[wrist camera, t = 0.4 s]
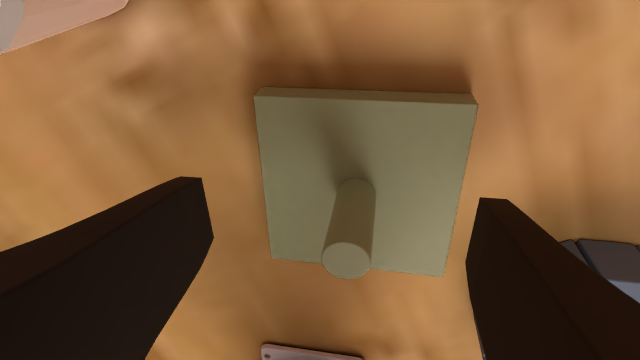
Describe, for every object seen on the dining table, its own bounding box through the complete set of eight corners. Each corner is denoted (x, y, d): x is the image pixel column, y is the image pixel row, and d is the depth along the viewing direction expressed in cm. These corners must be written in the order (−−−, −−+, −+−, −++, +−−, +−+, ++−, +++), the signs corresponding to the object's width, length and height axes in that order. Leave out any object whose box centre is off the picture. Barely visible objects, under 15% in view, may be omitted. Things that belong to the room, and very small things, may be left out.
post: (441, 259, 22) (455, 358, 17) (277, 242, 24) (241, 327, 18) (472, 93, 17) (508, 156, 12) (262, 86, 19) (206, 139, 13)
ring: (636, 379, 24) (664, 428, 22) (462, 355, 26) (469, 397, 23) (724, 251, 19) (775, 297, 16) (496, 231, 21) (510, 269, 18)
